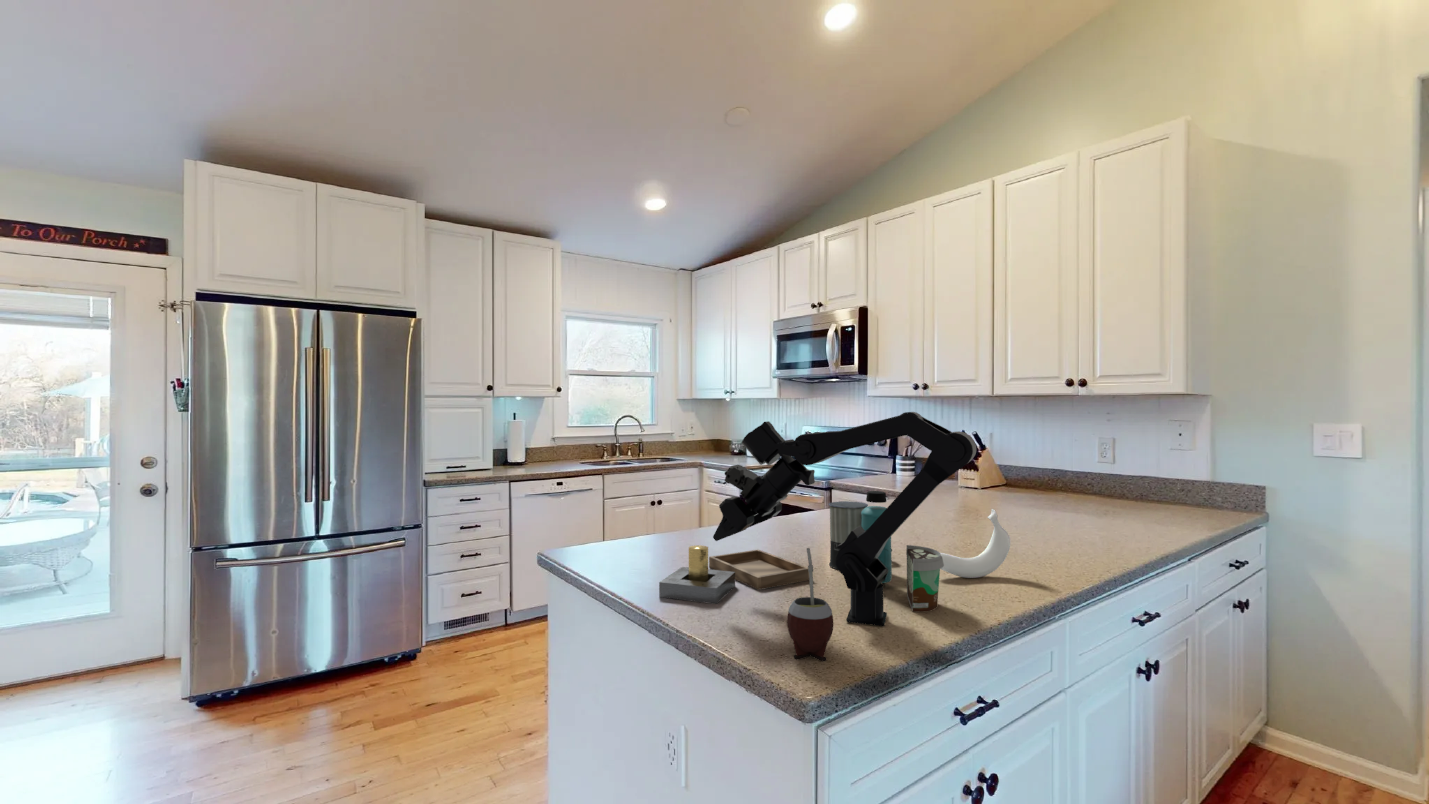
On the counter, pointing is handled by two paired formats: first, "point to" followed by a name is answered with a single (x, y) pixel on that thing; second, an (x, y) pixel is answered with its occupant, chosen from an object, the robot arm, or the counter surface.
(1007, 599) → the counter surface
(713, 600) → the grey square socket block
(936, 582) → the food container
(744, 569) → the walnut tray
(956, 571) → the banana
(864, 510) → the beverage bottle
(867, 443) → the robot arm
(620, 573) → the counter surface
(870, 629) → the counter surface
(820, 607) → the mate gourd
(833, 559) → the milk frother
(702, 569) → the brass pin
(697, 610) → the counter surface
